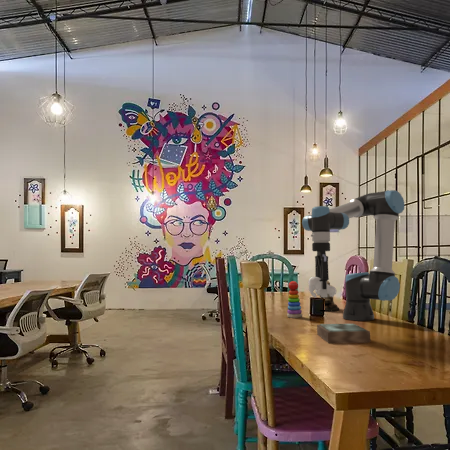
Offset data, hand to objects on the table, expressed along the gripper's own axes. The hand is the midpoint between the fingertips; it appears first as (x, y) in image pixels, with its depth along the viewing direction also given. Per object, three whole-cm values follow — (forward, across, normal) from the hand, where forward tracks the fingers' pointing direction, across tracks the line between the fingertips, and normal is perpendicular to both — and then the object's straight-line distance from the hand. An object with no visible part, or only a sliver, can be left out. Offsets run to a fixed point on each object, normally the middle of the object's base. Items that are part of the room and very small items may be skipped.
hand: (322, 296), depth 176 cm
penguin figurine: (+1, 0, 0) cm, 1 cm away
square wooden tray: (+15, +12, +5) cm, 20 cm away
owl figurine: (+15, -66, +20) cm, 71 cm away
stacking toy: (+15, -41, -5) cm, 44 cm away
